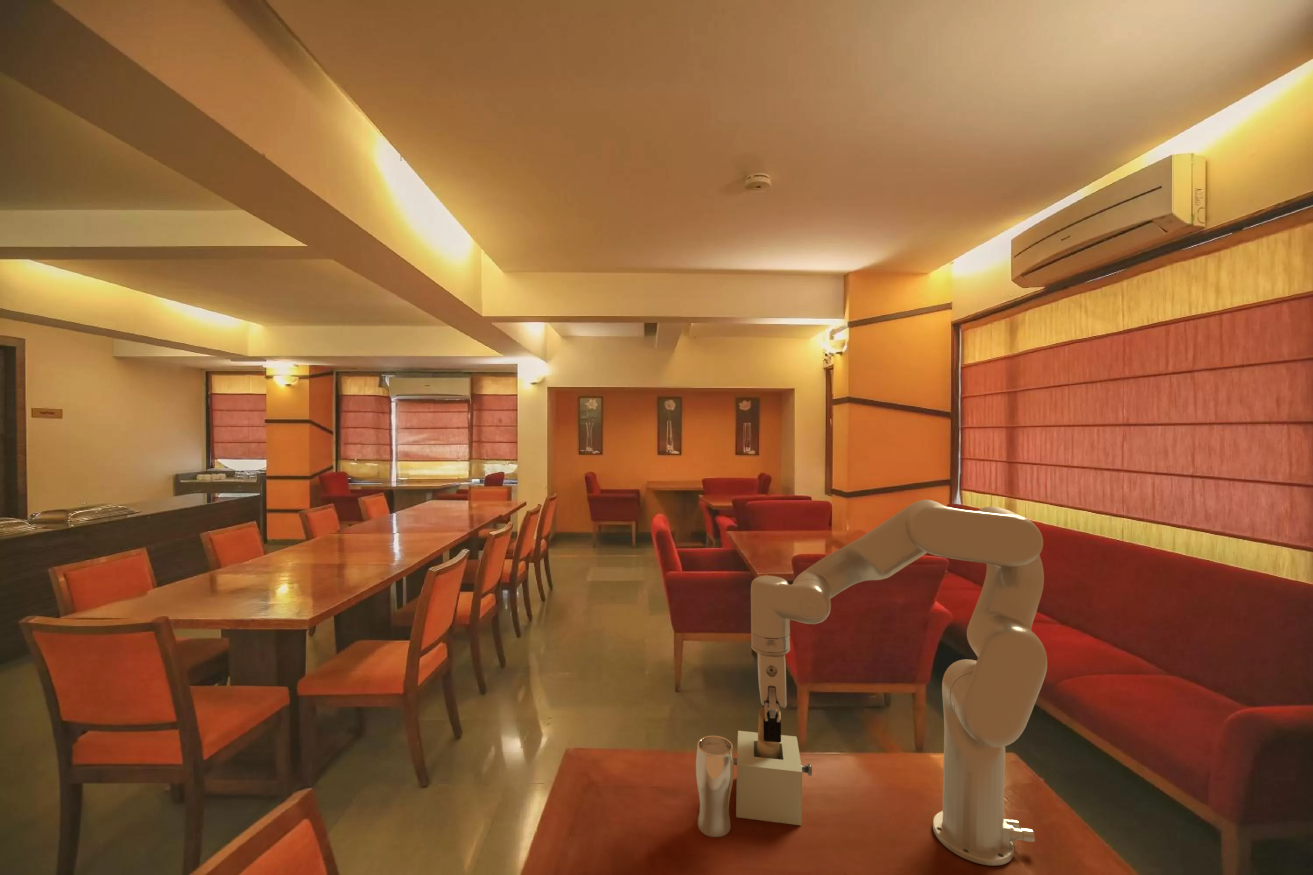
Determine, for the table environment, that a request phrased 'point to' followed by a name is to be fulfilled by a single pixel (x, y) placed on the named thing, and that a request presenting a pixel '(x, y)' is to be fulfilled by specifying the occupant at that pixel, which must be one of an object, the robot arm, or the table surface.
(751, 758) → the socket
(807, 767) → the plunger
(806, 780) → the table surface
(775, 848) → the table surface
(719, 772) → the beer glass
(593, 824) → the table surface
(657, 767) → the table surface
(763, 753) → the peg
